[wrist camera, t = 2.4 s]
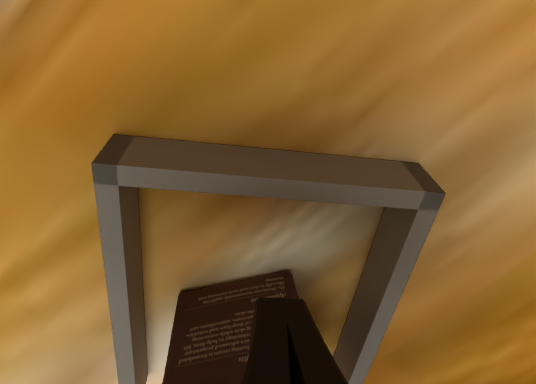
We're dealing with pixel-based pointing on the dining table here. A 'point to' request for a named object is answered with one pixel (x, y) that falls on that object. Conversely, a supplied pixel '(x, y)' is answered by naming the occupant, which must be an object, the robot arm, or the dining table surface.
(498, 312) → the dining table surface
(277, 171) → the grey arch frame
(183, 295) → the box
